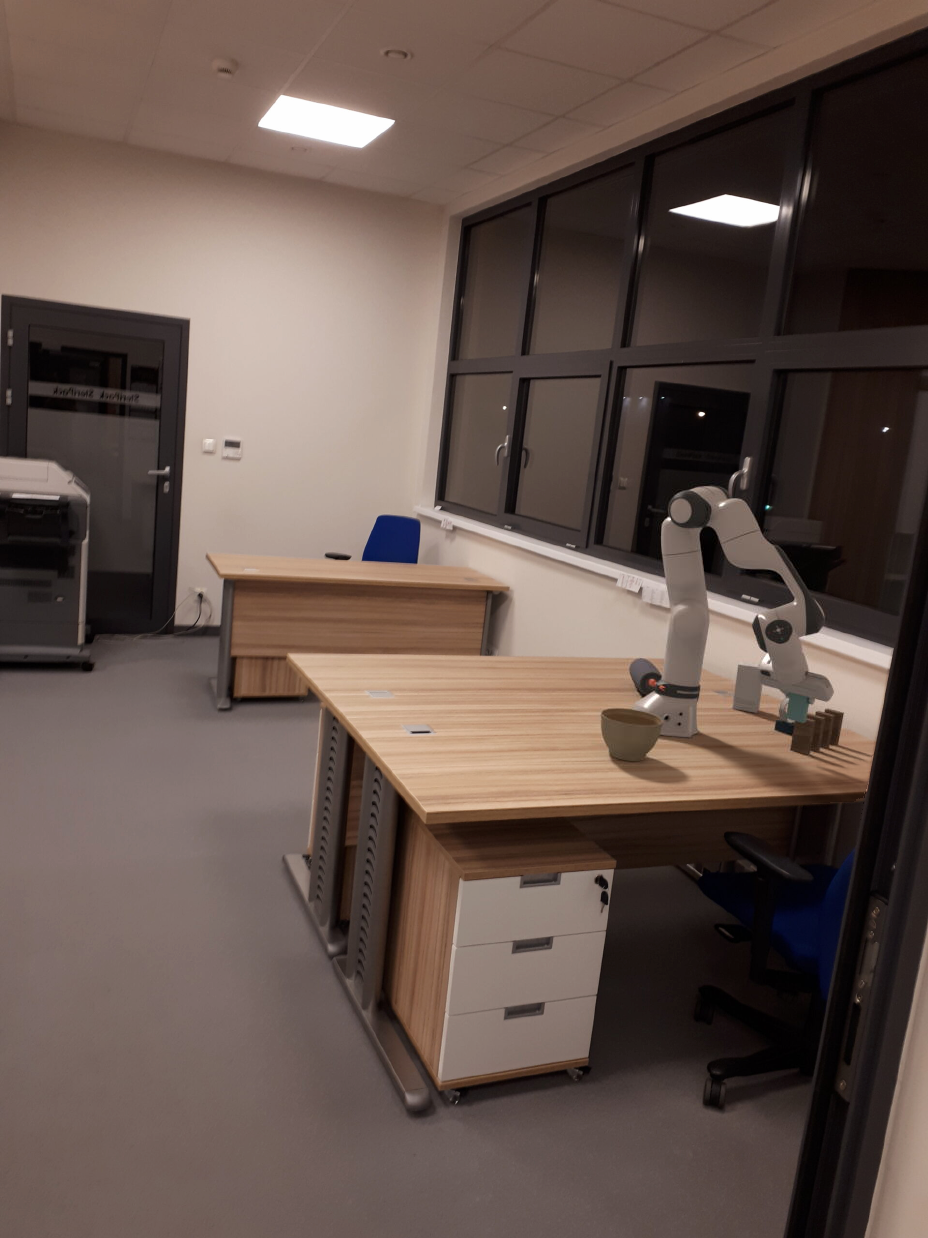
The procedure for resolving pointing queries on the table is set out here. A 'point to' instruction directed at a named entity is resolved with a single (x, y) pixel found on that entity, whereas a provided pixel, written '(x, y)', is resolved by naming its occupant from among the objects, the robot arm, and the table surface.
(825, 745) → the walnut domino
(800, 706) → the teal domino
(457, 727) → the table surface
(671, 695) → the robot arm
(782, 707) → the watch
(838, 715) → the walnut domino
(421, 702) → the table surface
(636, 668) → the bluetooth speaker
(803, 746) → the walnut domino
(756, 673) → the skincare box
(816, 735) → the walnut domino
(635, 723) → the planter bowl
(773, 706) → the table surface
